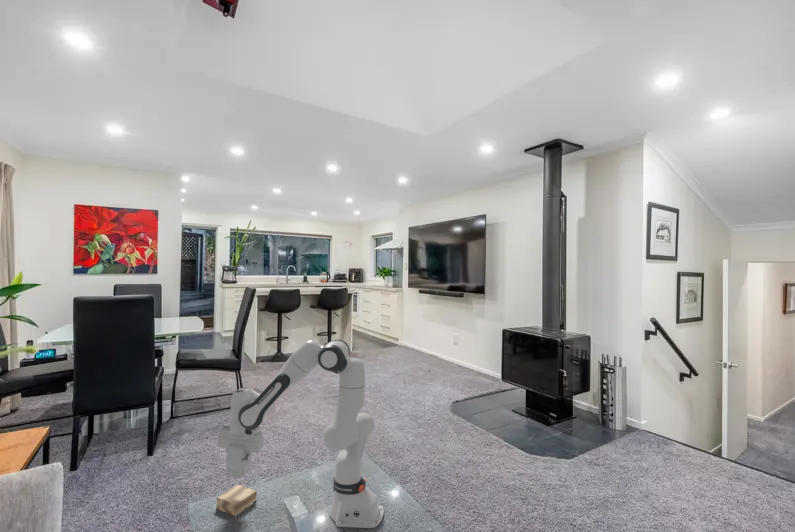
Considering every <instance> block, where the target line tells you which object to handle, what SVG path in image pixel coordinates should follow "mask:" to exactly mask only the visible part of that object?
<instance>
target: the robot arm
mask: <svg viewBox="0 0 795 532" xmlns="http://www.w3.org/2000/svg"><path fill="white" fill-rule="evenodd" d="M350 351H351V350H350V347H349V345H348V343H347V342H346V341H344V340H342V339H333V340H331V341H328V342H326V343H325V342H324V344H323V345H322V344H320V343H319V342H317V341H316V340H307V341H305V342H304V343H303V344H301V345H300V346H299V347H297V349H296V350H295V351H294V352H293V353H292V354H291V355H290V356H289V358H288V359H287V360H286V361H285V363H284V364H283V366H281V369H280V370H279V371H278V373H277V374H276V375H275V377H274V378H273V380H272V381H271V382H270V383H269V385H268V386H266V388H265V389H263V391H262V392H261V393H259V392H257V391H255V390H254V389H253V388H252V387H250V386H249V387H248V386H246V387H242V388H239V389H237V390H235V391H234V392H233V393H232V396H231V401H230V413H231V414H230V415H231V416H230V420H229V424H225V423H224V424H221V425H220V426H219V428H218V435H217V440H216V441H217V442H216V445H217V447H218V448H223V449H225V453H226V454H227V446H229V445H230V444H232V445H240V446H245V451H248V453H249V455H248V456H247V457H246V461H250V460H251V461H252V455H253V454H254V453H258V452H260V451H261V450H262V449H264V434H263V432H262V431H263V429H264V428H263V425H262V423H263V422H265V421H266V420H267V419H268V418H269V417H270V416H271V415H273V413H274V412H275V409H276V403H275V402H276V401H277V400H278V399H279V397H281V396H282V395H283V394H285V392H287V391H288V390H290V389H291V388H293V387H294V386H297V385H298V384H299V383H300V382H302V381H303V380H305V378H307V377H308V376H309V374H311V373H312V371H313V370H314V369H315V368H316V367H317V366H318V365H319V366H320V367H321V369H323V370H325V371H329V372H332V373H334V374H338V375H339V381H338V382H339V383H338V393H337V394H338V396H337V397H338V398H337V404H336V408H335V412H334V414H333V417H332V418H331V421H330V423H329V424H328V425H327V426H326V428H325V429H324V431H323V435H322V439H323V444H324V445H325V447H326V448H327V450H329V452H338V454H337V456H336V458H335V462H334V465H335V466H334V467H335V469H334V477H333V483H332V484H333V485H332V490H333V495H332V496H333V497H332V504H331V507H330V510H329V517H330V518H331V520H332V521H333V522H334V523H335V525H336V527H338V528H357V529H358V528H359V529H360V528H361V529H374V528H376V527H378V526H379V525H380V524H381V522H382V520H383V519H384V514H385V513H384V507H383V506H382V505H379V500H378V496H377V495H376V494H375V493H374V492H373V491H372V490H371V489H370V488H368V487H367V486H366V485H367V484H366V483H367V478H365V479H364V478H363V476H362V469H363V467H362V466H363V459H364V458H363V457H364V455H365V454H364V453H365V450H366V447H367V444H368V441H369V438H370V436H371V435H372V434H373V432H374V429H375V422H374V419H373V417H372V416H371V415H370V414H369V413H368V412H360V411H361V409H362V408H363V407H364V405H365V397H366V371H365V364H364V362H363V360H361V359H359V358H355V357H354V358H353V357H351V356H350V353H351V352H350Z"/></svg>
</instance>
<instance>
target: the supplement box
mask: <svg viewBox="0 0 795 532" xmlns="http://www.w3.org/2000/svg"><path fill="white" fill-rule="evenodd" d="M248 455H249V453H248V451H245V446H240V445H232V444H230V445H229V446H227V453H226V464H225V465H226V466H225V477H228V478H233V479H234V478H235V479H238V480H239V479H242V477H244V476H245V475H247V474H248V473H249V472H250V471H251V470H252V469H251V468H252V459H251V460H250V461H246V457H247V456H248Z"/></svg>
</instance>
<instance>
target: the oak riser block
mask: <svg viewBox="0 0 795 532" xmlns="http://www.w3.org/2000/svg"><path fill="white" fill-rule="evenodd" d="M257 491H258V490H255V489H252V488H249V487H246V486H243V485H240V484H236V485H235V486H233V487H231V488H230V489H229V490H227V491H225V492H224V493H221V494H220V495H218V496H217V497H216V507H215V508H216V510H217V511H218V510H219V511H220V512H223V513H226V514H228V515H230V516H234V515H236V514H238V513H240V512H241V511H243V510H244V509H245V508H246V507H247V506H249V505H250V504H251V503H253V502H255V501H256V502H257V496H258V495H257ZM256 502H255V503H256ZM245 510H246V509H245ZM245 510H244V511H245ZM244 511H243V512H244ZM241 513H242V512H241ZM241 513H240V514H241ZM238 515H239V514H238Z"/></svg>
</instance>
